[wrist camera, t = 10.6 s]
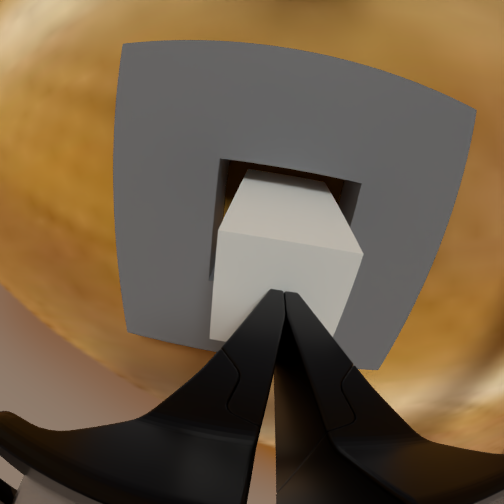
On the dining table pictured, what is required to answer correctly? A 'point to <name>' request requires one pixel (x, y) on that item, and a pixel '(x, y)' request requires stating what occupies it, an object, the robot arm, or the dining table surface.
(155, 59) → the socket block
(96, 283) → the dining table surface
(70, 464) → the robot arm
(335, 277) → the plug peg
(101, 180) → the dining table surface
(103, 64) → the dining table surface
